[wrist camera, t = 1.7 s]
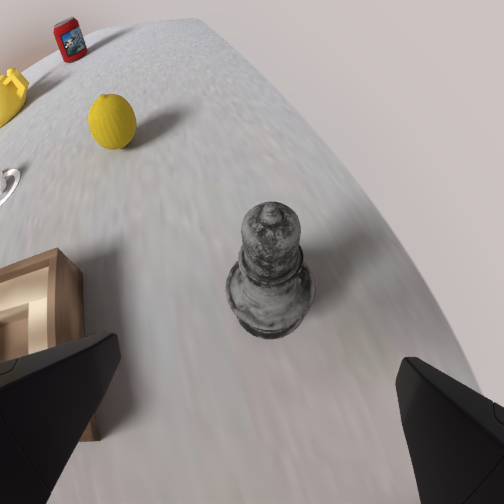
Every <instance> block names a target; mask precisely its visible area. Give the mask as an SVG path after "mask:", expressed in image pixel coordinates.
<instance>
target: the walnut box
mask: <svg viewBox="0 0 504 504" xmlns="http://www.w3.org/2000/svg"><path fill="white" fill-rule="evenodd" d="M84 337H85V332H84V316H83V285H82V272H81V271H80V270H79V269H78V268H77V267H76V266H75V265H74V264H73V263H72V262H71V261H70V260H69V259H68V258H67V257H66V256H65V255H64V254H63V253H62V252H61V251H60V250H59V248H58V247H57V248H54V249H52V250H49V251H46V252H43V253H40V254H38V255H35V256H32V257H30V258H27V259H24V260H22V261H19V262H16V263H14V264H11V265H8V266H6V267H3V268H1V269H0V362H4V361H7V360H11V359H15V358H20V357H22V356H25V355H28V354H32V353H35V352H38V351H42V350H45V349H48V348H52V347H55V346H58V345H61V344H65V343H68V342H71V341H74V340H78V339H81V338H84ZM87 441H100V438H99V433H98V428H97V423H96V418H95V413H94V415H93V417H92V418H91V420H90V422H89V424H88V426H87V427H86V429H85V431H84V433H83V434H82V436H81V438H80V440H79V442H87Z"/></svg>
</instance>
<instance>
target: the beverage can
mask: <svg viewBox="0 0 504 504" xmlns="http://www.w3.org/2000/svg"><path fill="white" fill-rule="evenodd" d="M54 27H55V28H54V36H55V39H56V41H57V44H58V47H59V50H60V52H61V55H62V57H63V60H64V62H68V63H71V62H74V61H76V60H78V59H80V58H82V57H83V56H84V55H85V53H86V52H87V48H86V45H85V41H84V38H83V36H82V32H81V29H80V27H79V23H78V21H77V20H76V19H75V18H74V17H70V18H68V19H66V20H64V21H62V22H60V23H58V24H56V25H55V26H54Z"/></svg>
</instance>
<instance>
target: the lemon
mask: <svg viewBox="0 0 504 504" xmlns="http://www.w3.org/2000/svg"><path fill="white" fill-rule="evenodd" d="M88 123H89V128H90V131H91V134H92V136H93V138H94V139H95V141H96V142H97V143H98V144H99V145H101V146H102V147H104V148H107V149H119V148H120V149H122V148H124V147H125V146H126V145H127V144H128V143H129V142H130V141H131V140H132V138H133V136H134V134H135V131H136V117H135V114H134V111H133V109H132V107H131V106H130V104H129V103H128V102H127V100H125V99H124V98H123V97H122V96H119V95H116V94H107V95H105V94H102V95H100V96H99V98H98V99H97V100H96V101H95V102H94V103H93V105H92V106H91V108H90V111H89V115H88Z"/></svg>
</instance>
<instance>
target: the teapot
mask: <svg viewBox="0 0 504 504" xmlns="http://www.w3.org/2000/svg"><path fill="white" fill-rule="evenodd" d="M28 85H29V82H28V81H27V80H26V79H25V78H24V77H23V75H22V74H21V73H20V72H19V71H18V70H15V68H10V69H8V70H7V76H5V75H1V76H0V128H1V127H2V126H3V125H5V124H6V123H7V122H8V121H10V120H11V119H12V118H13V117H14V116H15V115H16V114H17V113H18V112H19V111H20V110H21V108H22V107H23V105H24V103H25V100H26V95H27V93H26V91H27V88H28Z"/></svg>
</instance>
